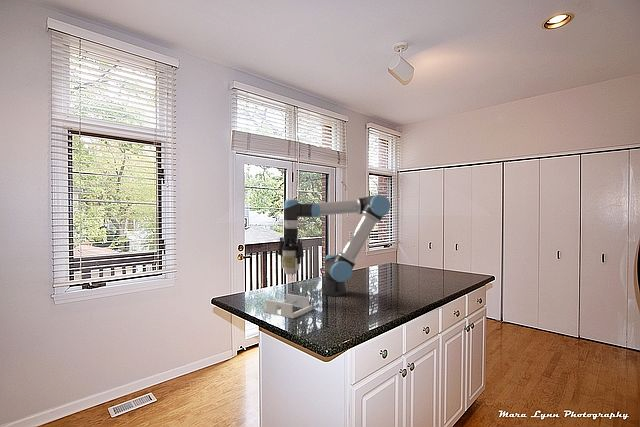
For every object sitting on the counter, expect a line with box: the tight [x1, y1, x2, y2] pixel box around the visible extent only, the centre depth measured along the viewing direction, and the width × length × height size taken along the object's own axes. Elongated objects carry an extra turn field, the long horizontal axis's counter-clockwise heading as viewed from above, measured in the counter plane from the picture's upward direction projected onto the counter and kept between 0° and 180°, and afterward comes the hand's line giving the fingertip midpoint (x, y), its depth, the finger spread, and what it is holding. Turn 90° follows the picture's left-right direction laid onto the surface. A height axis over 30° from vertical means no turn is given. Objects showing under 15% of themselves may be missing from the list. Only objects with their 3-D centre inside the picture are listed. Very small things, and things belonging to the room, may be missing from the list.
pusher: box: [277, 293, 310, 310], centre depth 168 cm, size 15×14×6 cm
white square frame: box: [263, 299, 314, 319], centre depth 168 cm, size 17×17×6 cm
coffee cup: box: [282, 245, 298, 275], centre depth 187 cm, size 10×10×15 cm
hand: (290, 268), depth 187 cm, fingers closed on coffee cup, 9 cm apart
